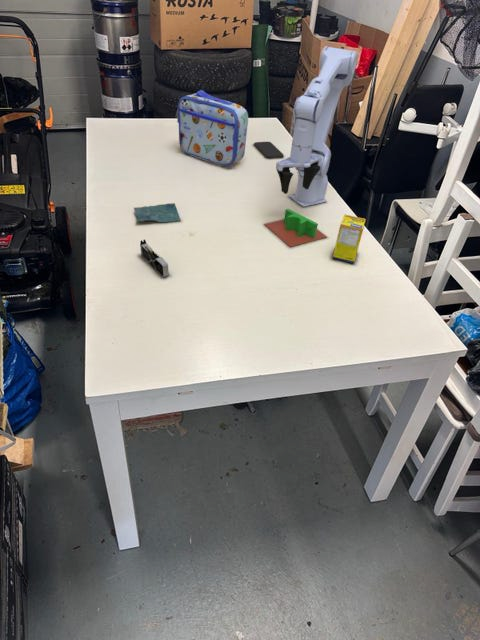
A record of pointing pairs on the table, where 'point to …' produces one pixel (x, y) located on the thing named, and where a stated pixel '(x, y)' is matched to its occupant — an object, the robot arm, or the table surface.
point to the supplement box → (348, 238)
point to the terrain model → (158, 213)
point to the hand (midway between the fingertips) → (295, 190)
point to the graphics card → (154, 259)
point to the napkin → (291, 234)
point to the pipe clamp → (299, 224)
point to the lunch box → (212, 128)
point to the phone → (268, 150)
